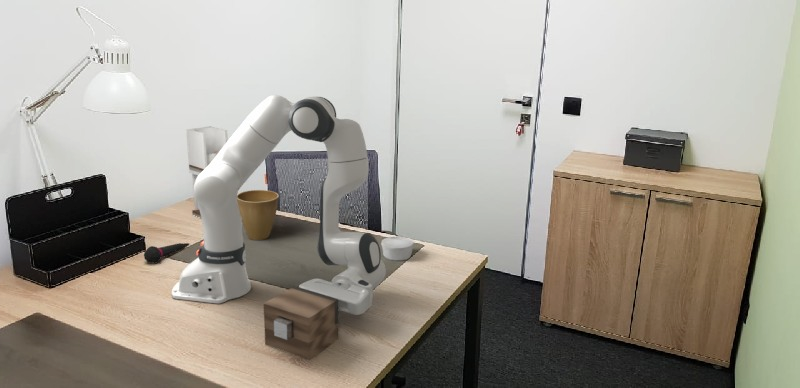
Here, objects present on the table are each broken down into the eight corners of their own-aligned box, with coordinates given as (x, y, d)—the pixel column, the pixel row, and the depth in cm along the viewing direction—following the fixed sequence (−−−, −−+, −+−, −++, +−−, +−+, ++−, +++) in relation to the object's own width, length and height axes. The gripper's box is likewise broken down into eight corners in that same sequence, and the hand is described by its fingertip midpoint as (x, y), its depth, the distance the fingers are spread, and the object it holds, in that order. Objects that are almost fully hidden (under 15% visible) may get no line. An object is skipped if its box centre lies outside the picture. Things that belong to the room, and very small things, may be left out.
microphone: (184, 253, 220) (142, 266, 201) (180, 237, 219) (138, 249, 201) (196, 250, 218) (155, 264, 199) (192, 234, 217) (151, 246, 199)
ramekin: (412, 250, 220) (413, 236, 218) (414, 262, 209) (414, 248, 207) (381, 249, 219) (381, 235, 218) (381, 262, 208) (381, 247, 207)
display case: (192, 215, 249) (186, 129, 239) (215, 209, 257) (210, 126, 247) (208, 221, 242) (203, 133, 232) (231, 215, 250) (227, 130, 240)
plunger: (287, 339, 148) (286, 325, 147) (274, 335, 150) (273, 320, 149) (322, 316, 160) (322, 302, 159) (310, 312, 162) (309, 298, 161)
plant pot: (233, 243, 221) (230, 200, 217) (245, 229, 235) (243, 188, 231) (274, 245, 221) (272, 202, 216) (283, 230, 235) (282, 190, 230)
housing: (309, 360, 149) (308, 318, 146) (265, 344, 156) (263, 303, 152) (338, 339, 159) (338, 299, 156) (295, 324, 166) (294, 286, 162)
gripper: (316, 269, 176) (284, 287, 164) (377, 286, 166) (348, 306, 155) (316, 289, 178) (285, 308, 166) (377, 307, 168) (348, 328, 156)
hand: (316, 307), depth 160 cm, fingers closed, pressing on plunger
